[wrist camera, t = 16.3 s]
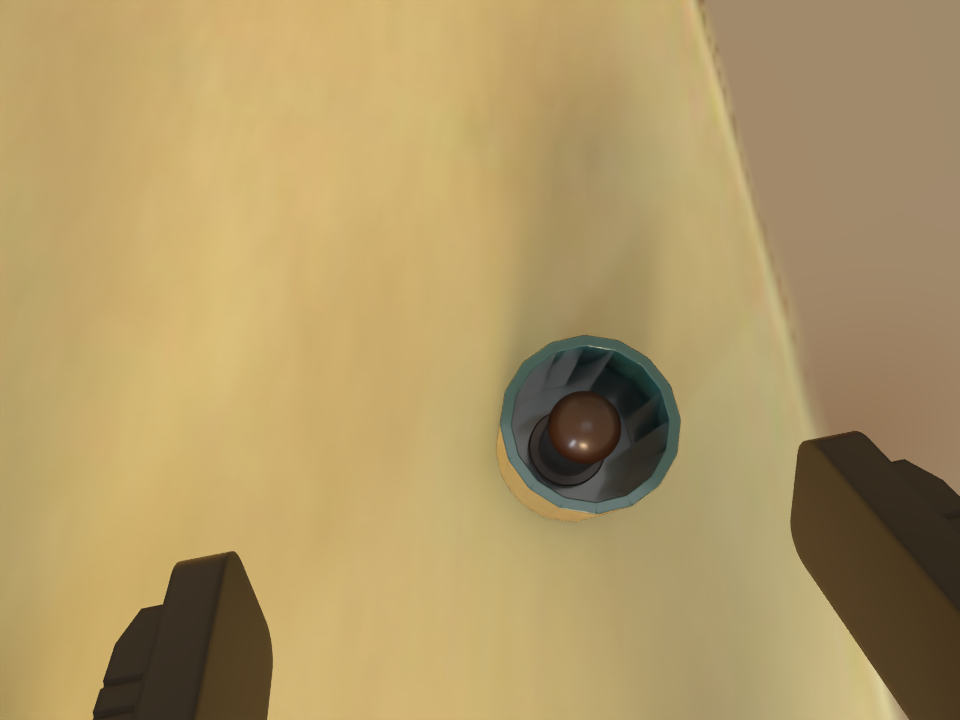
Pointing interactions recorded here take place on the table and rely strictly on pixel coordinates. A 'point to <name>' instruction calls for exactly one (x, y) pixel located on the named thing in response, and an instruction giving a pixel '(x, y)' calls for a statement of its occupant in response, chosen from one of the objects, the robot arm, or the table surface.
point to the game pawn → (574, 439)
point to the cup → (640, 408)
